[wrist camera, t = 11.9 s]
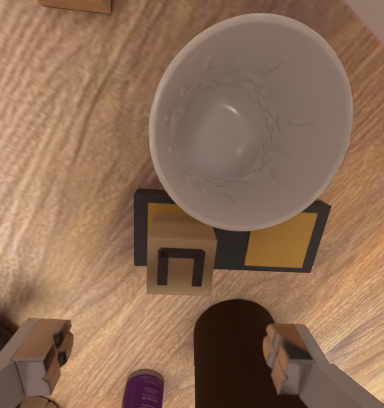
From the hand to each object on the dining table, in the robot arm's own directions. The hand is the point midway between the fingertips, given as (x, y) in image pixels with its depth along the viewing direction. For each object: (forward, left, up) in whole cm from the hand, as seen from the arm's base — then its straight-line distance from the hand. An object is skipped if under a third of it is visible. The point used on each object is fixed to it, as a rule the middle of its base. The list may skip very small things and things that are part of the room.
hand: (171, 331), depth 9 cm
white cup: (-8, +3, -12) cm, 15 cm away
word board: (+1, +5, -12) cm, 13 cm away
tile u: (+1, 0, -10) cm, 10 cm away
